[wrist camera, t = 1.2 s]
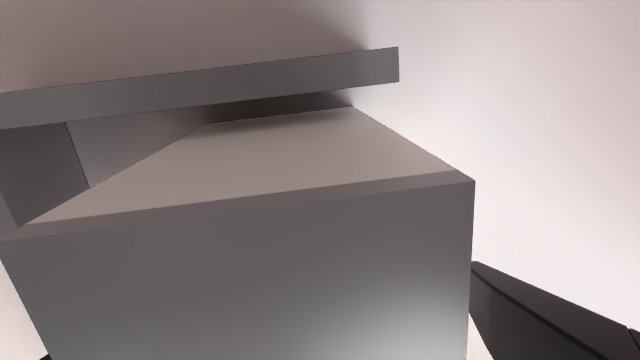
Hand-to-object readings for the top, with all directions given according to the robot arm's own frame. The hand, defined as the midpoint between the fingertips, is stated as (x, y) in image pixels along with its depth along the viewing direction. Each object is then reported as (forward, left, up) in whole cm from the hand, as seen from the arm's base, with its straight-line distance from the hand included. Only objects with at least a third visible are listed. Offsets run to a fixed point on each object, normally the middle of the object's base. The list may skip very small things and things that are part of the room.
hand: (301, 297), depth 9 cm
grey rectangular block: (0, 0, -4) cm, 4 cm away
